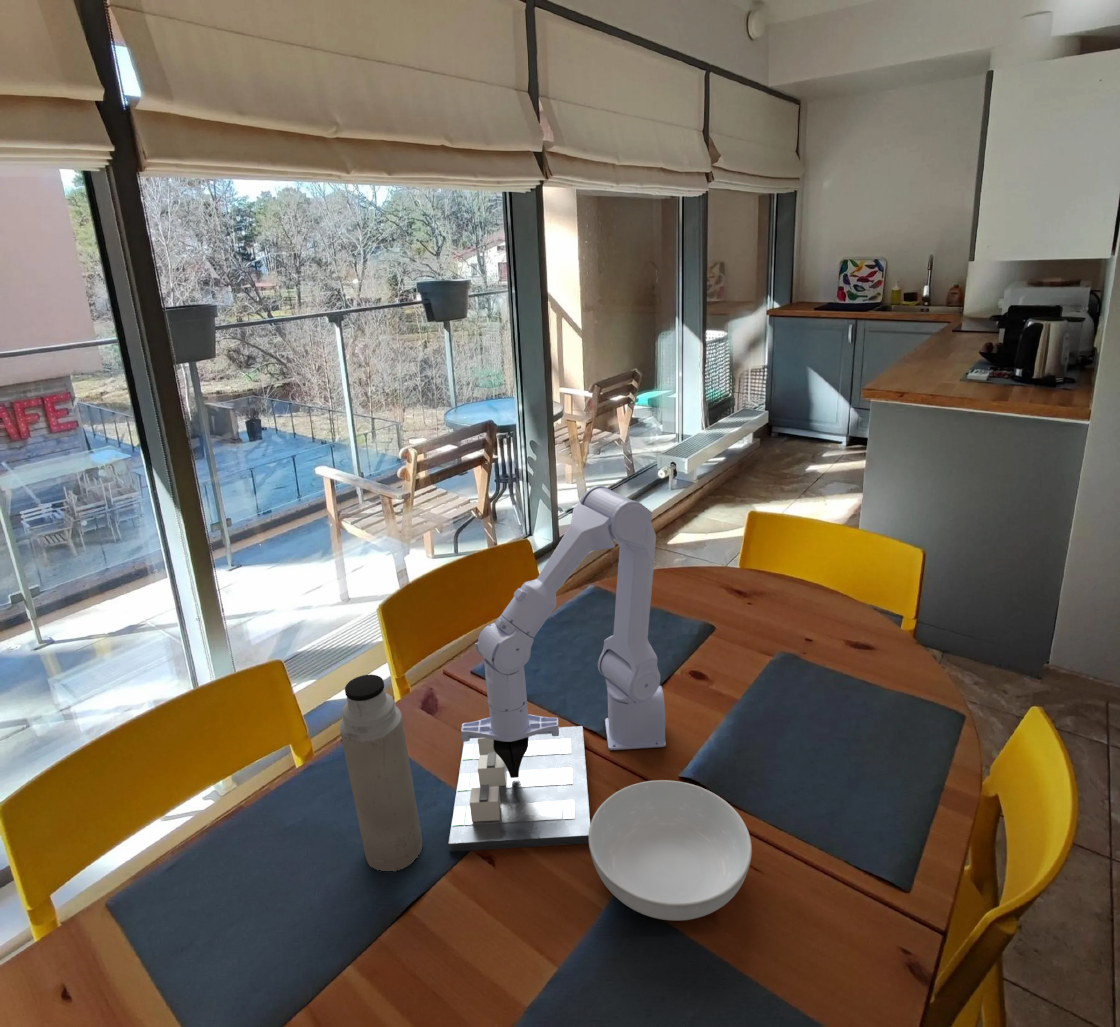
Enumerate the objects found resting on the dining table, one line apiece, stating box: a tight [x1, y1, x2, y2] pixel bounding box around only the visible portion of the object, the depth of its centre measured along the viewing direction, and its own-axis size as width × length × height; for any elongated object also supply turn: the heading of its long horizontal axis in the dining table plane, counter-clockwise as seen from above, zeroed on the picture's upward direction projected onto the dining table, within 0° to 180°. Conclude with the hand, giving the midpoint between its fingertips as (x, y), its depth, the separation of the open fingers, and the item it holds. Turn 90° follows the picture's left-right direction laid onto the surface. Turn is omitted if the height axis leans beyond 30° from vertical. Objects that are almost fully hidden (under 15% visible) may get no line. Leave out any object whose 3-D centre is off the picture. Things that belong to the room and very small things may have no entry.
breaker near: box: [470, 785, 501, 822], centre depth 108 cm, size 4×3×4 cm
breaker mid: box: [478, 752, 507, 787], centre depth 114 cm, size 4×3×4 cm
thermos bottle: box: [339, 674, 423, 872], centre depth 100 cm, size 8×8×28 cm
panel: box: [448, 725, 591, 852], centre depth 115 cm, size 20×24×2 cm
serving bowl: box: [588, 779, 753, 922], centre depth 98 cm, size 21×21×7 cm
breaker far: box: [478, 738, 495, 755], centre depth 121 cm, size 4×3×4 cm
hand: (514, 773), depth 114 cm, fingers closed
